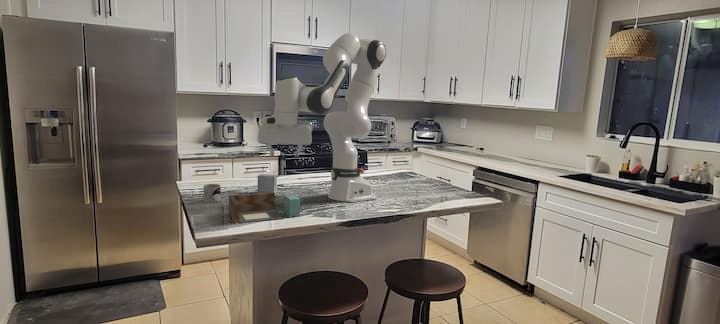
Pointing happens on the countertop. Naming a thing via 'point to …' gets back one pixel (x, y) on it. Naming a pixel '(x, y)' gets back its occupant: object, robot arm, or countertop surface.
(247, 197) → the corner walls
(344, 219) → the countertop surface
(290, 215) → the teal block
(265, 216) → the mat
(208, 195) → the mug
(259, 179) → the medicine box
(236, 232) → the countertop surface
